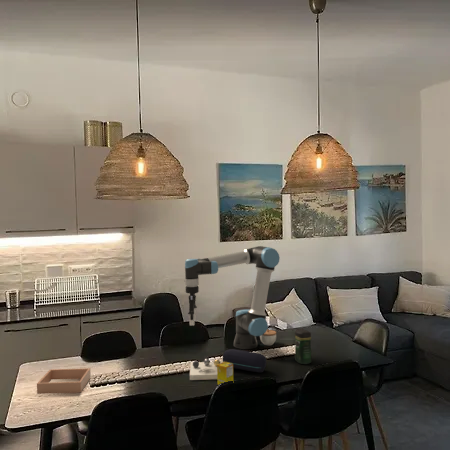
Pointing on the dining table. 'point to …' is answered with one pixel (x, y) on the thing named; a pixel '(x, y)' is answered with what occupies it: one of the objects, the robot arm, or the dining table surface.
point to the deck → (203, 371)
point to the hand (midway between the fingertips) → (192, 322)
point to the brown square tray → (63, 387)
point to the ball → (206, 361)
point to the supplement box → (224, 372)
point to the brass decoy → (216, 362)
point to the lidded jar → (268, 337)
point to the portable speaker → (245, 360)
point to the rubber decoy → (195, 363)
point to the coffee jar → (303, 346)
